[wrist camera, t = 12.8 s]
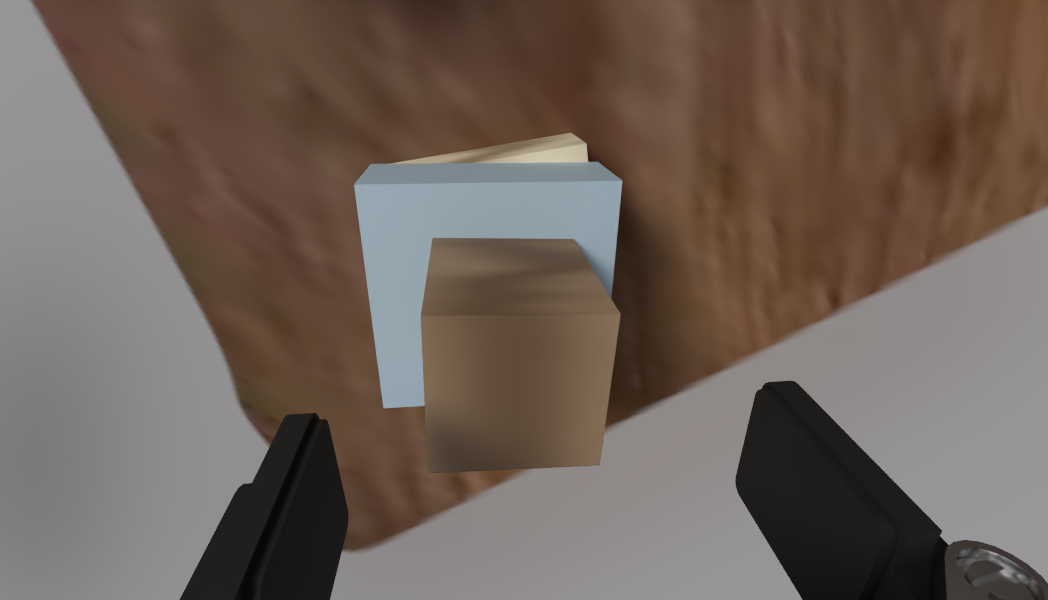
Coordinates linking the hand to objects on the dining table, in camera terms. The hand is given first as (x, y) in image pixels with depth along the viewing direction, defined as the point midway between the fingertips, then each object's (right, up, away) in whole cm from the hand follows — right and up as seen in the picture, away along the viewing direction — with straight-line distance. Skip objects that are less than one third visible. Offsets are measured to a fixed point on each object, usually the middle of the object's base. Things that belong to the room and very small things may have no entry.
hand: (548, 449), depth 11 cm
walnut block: (-1, +3, +8) cm, 9 cm away
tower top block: (-2, +5, +11) cm, 12 cm away
